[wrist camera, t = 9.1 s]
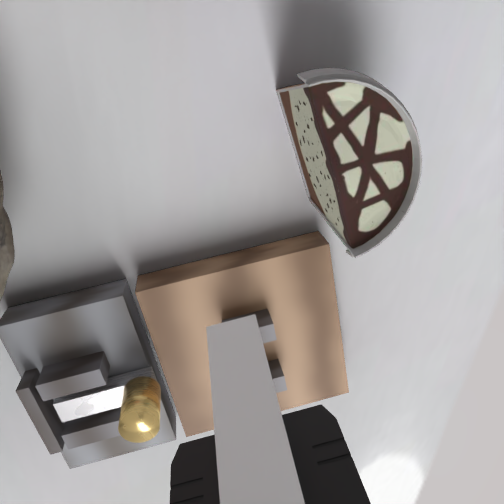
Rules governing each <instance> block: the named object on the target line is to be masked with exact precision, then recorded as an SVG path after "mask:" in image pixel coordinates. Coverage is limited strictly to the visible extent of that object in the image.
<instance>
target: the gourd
mask: <svg viewBox="0 0 504 504" xmlns="http://www.w3.org/2000/svg"><path fill="white" fill-rule="evenodd" d="M13 263H14V245H13V236H12V228H11V224H10V220H9V217H8V215H7V213H6V211H5V209H4V208H3V181H2V176H1V171H0V300H1V298H2V296H3V293H4V289H5V286H6V282H7V278H8V275H9V272H10V270H11V268H12V266H13Z"/></svg>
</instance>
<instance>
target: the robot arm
mask: <svg viewBox="0 0 504 504" xmlns="http://www.w3.org/2000/svg"><path fill="white" fill-rule="evenodd" d="M206 330H207V343H208V356H209V369H210V381H211V394H212V407H213V420H214V433H215V435H212V436H208V437H204V438H201V439H197V440H193V441H189V442H186V443H182V444H180V445H179V448H178V450H177V452H176V454H175V457H174V459H173V461H172V464H171V482H170V486H171V490H170V504H371V503H370V501H369V498H368V496H367V493H366V491H365V489H364V486H363V484H362V481H361V479H360V476H359V474H358V471H357V469H356V466H355V464H354V461H353V459H352V457H351V454H350V451H349V449H348V446H347V444H346V441H345V440H344V437H343V434H342V432H341V429H340V427H339V424H338V422H337V419H336V418H335V417H334V416H333V415H332V414H331V413H330V412H329V411H328V410H327V409H326V408H325V407H324V406H322V405H318V406H314V407H310V408H307V409H303V410H299V411H295V412H292V413H288V414H284V415H282V414H281V410H280V407H279V403H278V399H277V395H276V391H275V387H274V384H273V380H272V376H271V372H270V368H269V365H268V361H267V357H266V353H265V349H264V345H263V342H262V338H261V334H260V330H259V326H258V323H257V319H256V315H255V314H253V315H250V316H246V317H242V318H238V319H234V320H231V321H227V322H223V323H219V324H215V325H212V326H208V327H206Z"/></svg>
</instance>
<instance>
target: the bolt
mask: <svg viewBox="0 0 504 504" xmlns="http://www.w3.org/2000/svg"><path fill="white" fill-rule="evenodd" d="M160 403H161V387H160V385H159V383H158V382H157V380H156V377H155V374H154V371H153V369H152V366H151V367H147V368H143V369H140V370H136V371H132V372H128V373H124V374H120V375H117V376H113V377H109V378H108V379H107V384H106V385H104V386H100V387H96V388H92V389H89V390H85V391H81V392H77V393H73V394H70V395H66V396H62V397H58V398H55V400H54V403H53V406H54V407H55V409H56V411H57V413H58V415H59V417H60V419H61V421H62V422H66V421H70V420H73V419H77V418H81V417H85V416H88V415H92V414H96V413H100V412H103V411H107V410H111V409H115V408H118V407H121V411H120V418H119V425H118V431H119V433H120V435H121V436H122V437H123V438H124V439H125V440H127V441H130V442H134V443H141V442H146V441H149V440H151V439H152V438H154V437H155V436H156V435H157V433H158V432H159V429H160Z"/></svg>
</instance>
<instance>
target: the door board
mask: <svg viewBox="0 0 504 504" xmlns="http://www.w3.org/2000/svg"><path fill="white" fill-rule="evenodd" d="M135 294H136V296H137V299H138V302H139V305H140V308H141V310H142V313H143V316H144V319H145V322H146V325H147V327H148V330H149V333H150V336H151V339H152V341H153V344H154V347H155V350H156V353H157V355H158V358H159V361H160V364H161V367H162V370H163V372H164V375H165V378H166V381H167V384H168V386H169V389H170V392H171V395H172V398H173V400H174V403H175V406H176V409H177V412H178V415H179V417H180V420H181V423H182V426H183V429H184V431H185V434H186V437H188V436H192V435H195V434H199V433H203V432H206V431H210V430H214V420H213V407H212V394H211V381H210V369H209V356H208V343H207V330H206V327H208V326H212V325H215V324H219V323H223V322H227V321H231V320H234V319H238V318H242V317H246V316H250V315H253V314H255V315H256V319H257V323H258V326H259V330H260V334H261V338H262V342H263V345H264V349H265V353H266V357H267V361H268V365H269V368H270V372H271V376H272V380H273V384H274V387H275V391H276V395H277V399H278V403H279V407H280V410H281V411H283V410H286V409H290V408H294V407H297V406H301V405H305V404H308V403H312V402H316V401H319V400H323V399H326V398H330V397H334V396H337V395H341V394H345V393H348V392H349V390H348V382H347V375H346V367H345V360H344V352H343V344H342V337H341V329H340V322H339V314H338V307H337V299H336V292H335V284H334V277H333V269H332V262H331V254H330V247H329V243H328V242H327V241H326V240H325V238H324V237H323V236H322V235H321V234H320V232H319V231H316V232H312V233H308V234H304V235H300V236H296V237H292V238H288V239H284V240H280V241H276V242H272V243H268V244H264V245H260V246H256V247H252V248H248V249H243V250H239V251H235V252H231V253H227V254H223V255H219V256H215V257H211V258H207V259H203V260H199V261H195V262H191V263H187V264H183V265H179V266H175V267H171V268H167V269H163V270H159V271H155V272H151V273H147V274H143V275H139V276H138V278H137V284H136V290H135ZM0 338H1V340H2V342H3V344H4V346H5V348H6V350H7V352H8V353H9V355H10V357H11V359H12V361H13V363H14V365H15V367H16V368H17V370H18V372H19V374H20V376H21V378H22V379H21V381H20V383H19V385H18V387H17V389H16V393H17V394H18V396H19V398H20V400H21V402H22V404H23V405H24V407H25V409H26V411H27V413H28V414H29V416H30V418H31V420H32V422H33V424H34V425H35V427H36V429H37V431H38V433H39V435H40V436H41V438H42V440H43V442H44V444H45V445H46V447H47V449H48V451H49V453H50V454H54V453H58V452H61V453H62V455H63V457H64V459H65V461H66V462H67V464H68V466H69V468H70V469H71V468H75V467H79V466H82V465H86V464H90V463H93V462H97V461H101V460H104V459H108V458H112V457H115V456H119V455H122V454H126V453H130V452H133V451H137V450H141V449H144V448H148V447H152V446H155V445H159V444H163V443H166V442H170V441H173V440H176V416H175V413H174V410H173V407H172V405H171V402H170V399H169V396H168V393H167V391H166V388H165V385H164V382H163V380H162V377H161V374H160V371H159V368H158V366H157V363H156V360H155V357H154V355H153V352H152V349H151V346H150V343H149V341H148V338H147V335H146V332H145V330H144V327H143V324H142V321H141V318H140V316H139V313H138V310H137V307H136V305H135V302H134V299H133V296H132V293H131V291H130V288H129V285H128V282H127V280H126V279H123V280H119V281H115V282H110V283H106V284H102V285H98V286H94V287H90V288H86V289H82V290H78V291H74V292H70V293H66V294H62V295H58V296H54V297H50V298H46V299H42V300H38V301H34V302H30V303H26V304H22V305H18V306H14V307H10V308H7V310H6V311H5V313H4V314H3V316H2V318H1V319H0ZM151 366H152V369H153V371H154V374H155V377H156V380H157V382H158V383H159V385H160V387H161V403H160V429H159V432H158V433H157V435H156V436H155V437H154V438H152V439H151V440H149V441H146V442H141V443H134V442H130V441H127V440H125V439H124V438H123V437H122V436H121V435H120V433H119V431H118V425H119V418H120V411H121V407H118V408H115V409H111V410H107V411H103V412H100V413H96V414H92V415H88V416H85V417H81V418H77V419H73V420H70V421H66V422H62V421H61V419H60V417H59V415H58V413H57V411H56V409H55V407H54V406H53V403H54V400H55V398H58V397H62V396H66V395H70V394H73V393H77V392H81V391H85V390H89V389H92V388H96V387H100V386H104V385H106V384H107V379H108V378H109V377H113V376H117V375H120V374H124V373H128V372H132V371H136V370H140V369H143V368H147V367H151Z"/></svg>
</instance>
